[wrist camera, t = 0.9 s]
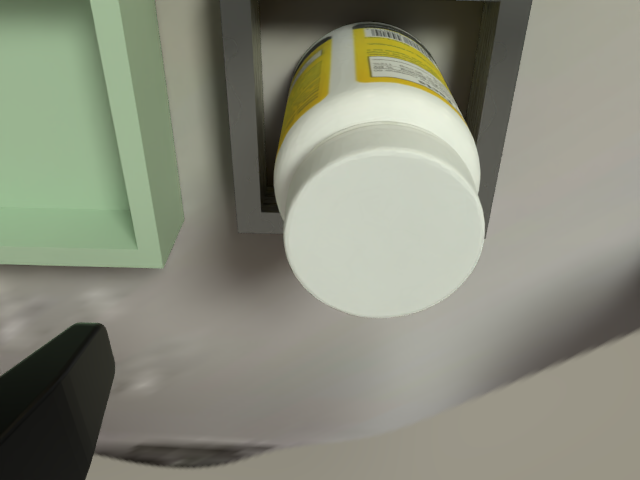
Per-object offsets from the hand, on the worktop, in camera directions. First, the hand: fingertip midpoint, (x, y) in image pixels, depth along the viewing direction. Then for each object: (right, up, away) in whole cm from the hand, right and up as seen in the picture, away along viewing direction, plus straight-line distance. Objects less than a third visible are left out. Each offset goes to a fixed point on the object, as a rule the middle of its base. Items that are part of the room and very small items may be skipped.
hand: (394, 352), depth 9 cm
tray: (-11, +7, +10) cm, 16 cm away
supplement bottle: (0, +6, +10) cm, 12 cm away
